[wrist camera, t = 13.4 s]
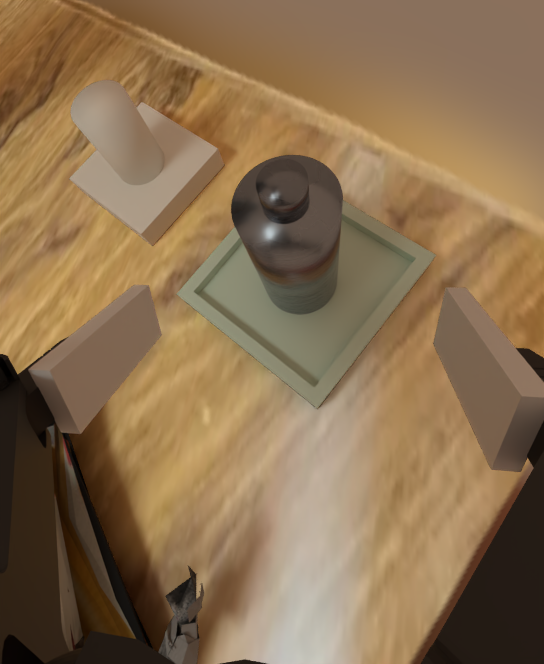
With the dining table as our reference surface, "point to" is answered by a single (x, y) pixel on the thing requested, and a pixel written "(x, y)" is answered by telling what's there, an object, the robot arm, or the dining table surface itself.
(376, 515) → the dining table surface
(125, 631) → the figurine
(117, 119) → the post stand
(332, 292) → the dark plastic bottle
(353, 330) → the tray
